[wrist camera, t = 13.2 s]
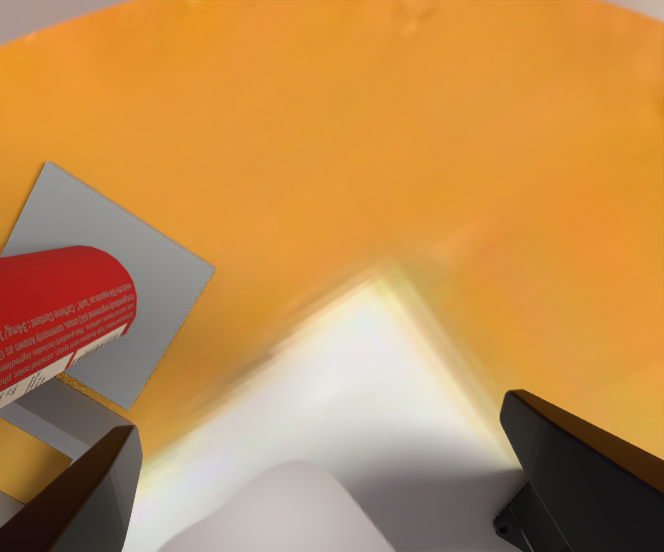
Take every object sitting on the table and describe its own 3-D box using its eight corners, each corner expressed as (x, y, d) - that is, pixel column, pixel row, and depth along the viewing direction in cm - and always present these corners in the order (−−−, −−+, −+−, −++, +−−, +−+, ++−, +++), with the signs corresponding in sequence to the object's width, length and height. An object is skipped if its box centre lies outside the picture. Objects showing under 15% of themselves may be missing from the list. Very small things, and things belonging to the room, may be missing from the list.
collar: (132, 423, 22) (103, 454, 20) (59, 541, 24) (23, 585, 22) (-23, 331, 22) (-76, 349, 19) (-87, 460, 23) (-144, 494, 21)
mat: (216, 268, 20) (213, 269, 20) (131, 406, 22) (127, 410, 22) (52, 162, 20) (46, 161, 19) (-23, 314, 21) (-30, 316, 21)
